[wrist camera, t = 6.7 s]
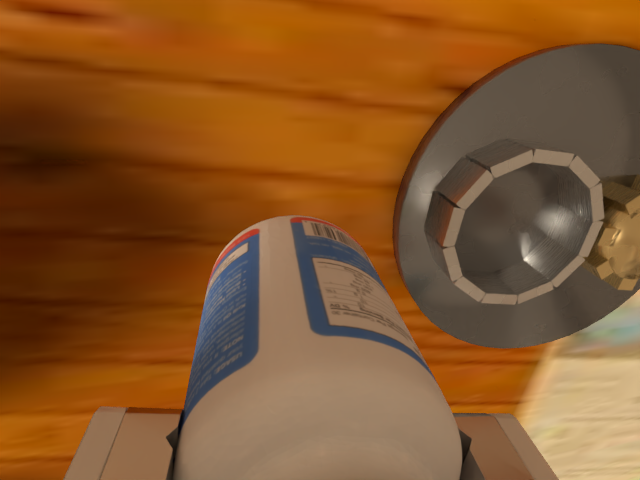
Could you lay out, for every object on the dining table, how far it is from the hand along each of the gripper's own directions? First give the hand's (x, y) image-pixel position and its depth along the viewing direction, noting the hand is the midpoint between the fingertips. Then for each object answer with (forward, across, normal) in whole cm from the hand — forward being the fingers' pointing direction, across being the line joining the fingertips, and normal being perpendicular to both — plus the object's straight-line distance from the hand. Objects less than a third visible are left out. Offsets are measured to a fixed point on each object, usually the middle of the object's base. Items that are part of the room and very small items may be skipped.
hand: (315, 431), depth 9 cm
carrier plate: (+15, -15, -1) cm, 21 cm away
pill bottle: (+6, 0, 0) cm, 6 cm away
